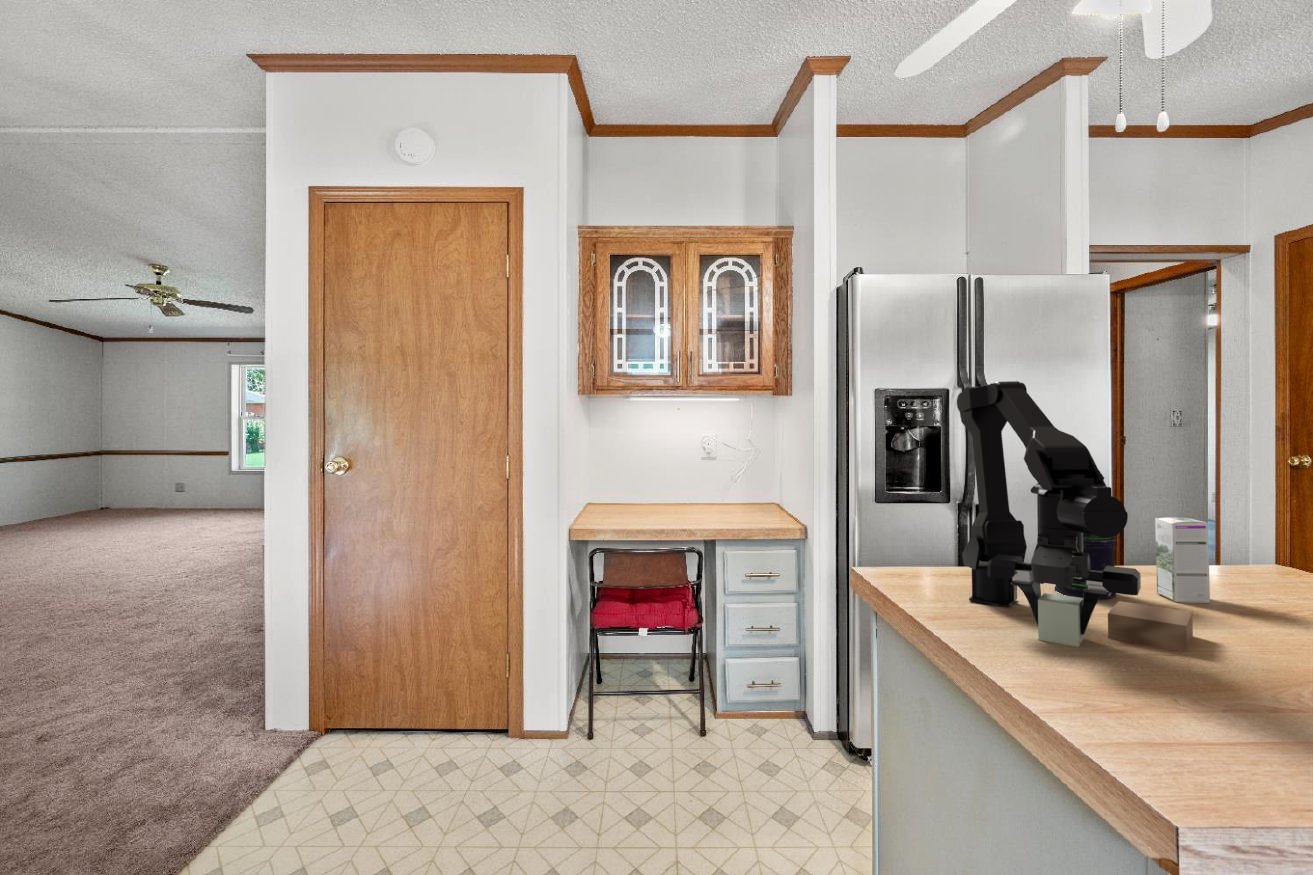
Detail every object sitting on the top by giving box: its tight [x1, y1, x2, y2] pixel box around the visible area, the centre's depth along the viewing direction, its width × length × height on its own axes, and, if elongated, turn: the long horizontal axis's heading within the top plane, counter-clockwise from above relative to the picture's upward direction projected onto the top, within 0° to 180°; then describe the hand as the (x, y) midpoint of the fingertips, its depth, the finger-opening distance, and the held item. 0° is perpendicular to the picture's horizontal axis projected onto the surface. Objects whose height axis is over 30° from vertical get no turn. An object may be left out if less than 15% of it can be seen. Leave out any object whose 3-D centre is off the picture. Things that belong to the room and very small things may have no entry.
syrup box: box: [1154, 516, 1211, 604], centre depth 113 cm, size 6×6×14 cm
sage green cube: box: [1037, 592, 1085, 648], centre depth 93 cm, size 5×5×6 cm
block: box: [1107, 600, 1194, 653], centre depth 93 cm, size 9×9×4 cm
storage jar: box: [1054, 533, 1117, 601], centre depth 118 cm, size 10×10×15 cm
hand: (1061, 630), depth 93 cm, fingers closed on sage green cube, 5 cm apart
